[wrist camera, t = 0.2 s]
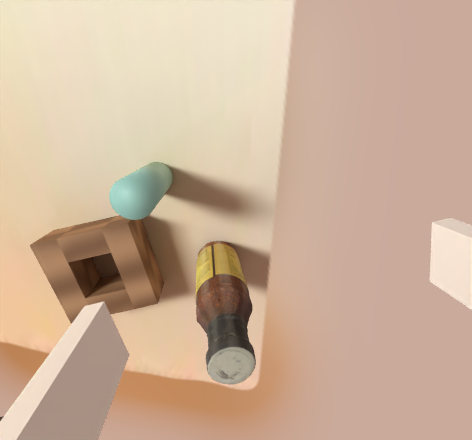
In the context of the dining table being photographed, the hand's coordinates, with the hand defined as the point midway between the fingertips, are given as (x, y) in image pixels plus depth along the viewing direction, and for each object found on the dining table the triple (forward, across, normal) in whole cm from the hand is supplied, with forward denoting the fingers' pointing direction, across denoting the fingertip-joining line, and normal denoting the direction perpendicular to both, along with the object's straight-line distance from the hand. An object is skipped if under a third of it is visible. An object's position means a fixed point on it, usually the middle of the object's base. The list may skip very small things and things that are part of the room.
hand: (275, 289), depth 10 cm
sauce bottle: (+27, -4, -11) cm, 30 cm away
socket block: (+27, -20, -8) cm, 34 cm away
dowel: (+27, -9, +2) cm, 29 cm away
